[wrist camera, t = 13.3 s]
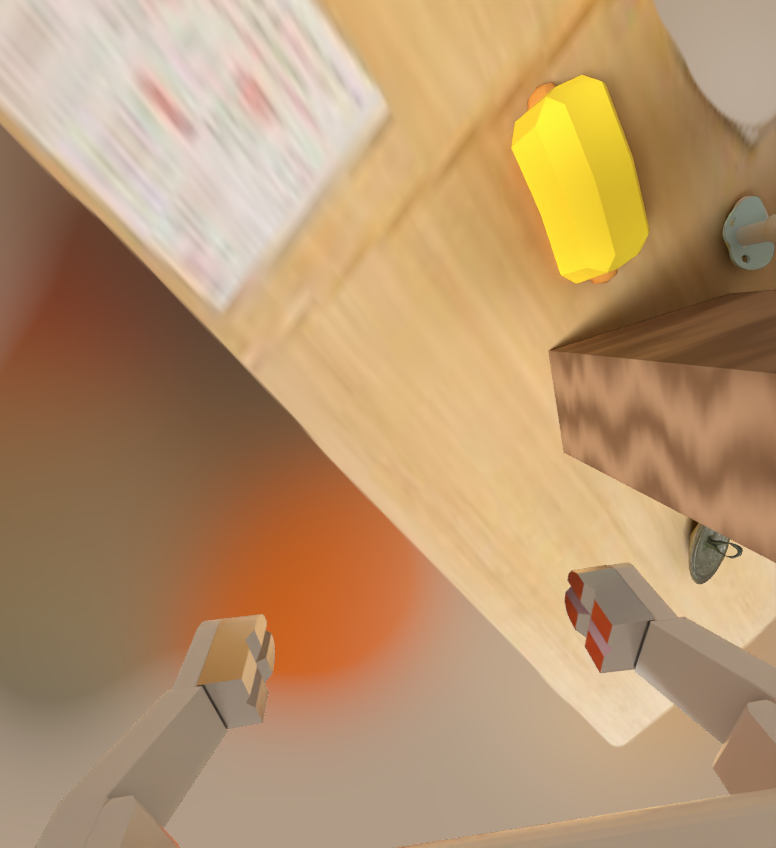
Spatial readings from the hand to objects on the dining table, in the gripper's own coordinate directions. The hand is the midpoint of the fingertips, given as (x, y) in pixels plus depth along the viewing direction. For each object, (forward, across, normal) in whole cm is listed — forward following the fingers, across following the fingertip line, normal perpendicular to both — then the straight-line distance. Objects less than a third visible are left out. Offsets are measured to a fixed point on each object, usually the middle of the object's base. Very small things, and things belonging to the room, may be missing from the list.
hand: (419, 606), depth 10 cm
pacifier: (+35, -40, -5) cm, 54 cm away
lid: (+28, -39, +30) cm, 57 cm away
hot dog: (+34, -20, -10) cm, 41 cm away
